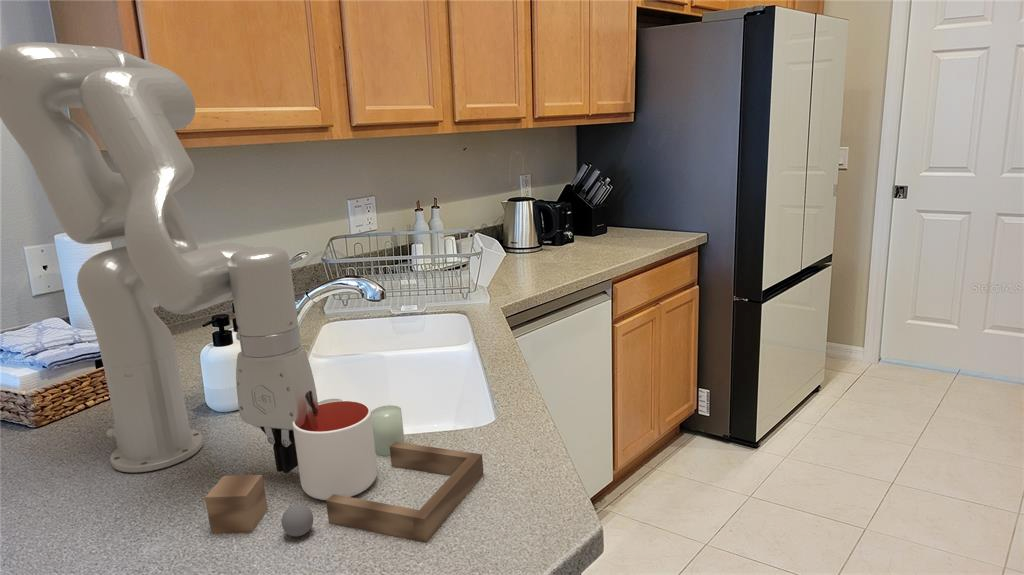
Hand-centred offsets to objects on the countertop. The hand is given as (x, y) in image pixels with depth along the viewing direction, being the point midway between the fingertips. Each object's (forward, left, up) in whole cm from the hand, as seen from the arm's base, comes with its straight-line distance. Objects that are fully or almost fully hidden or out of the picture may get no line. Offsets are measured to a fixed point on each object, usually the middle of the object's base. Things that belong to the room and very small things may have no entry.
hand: (289, 467), depth 96 cm
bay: (+18, 0, -1) cm, 18 cm away
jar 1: (-1, +11, -1) cm, 11 cm away
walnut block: (+1, -11, -2) cm, 11 cm away
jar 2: (+9, +11, -1) cm, 14 cm away
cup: (+8, 0, -2) cm, 8 cm away
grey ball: (+10, -11, -1) cm, 15 cm away
